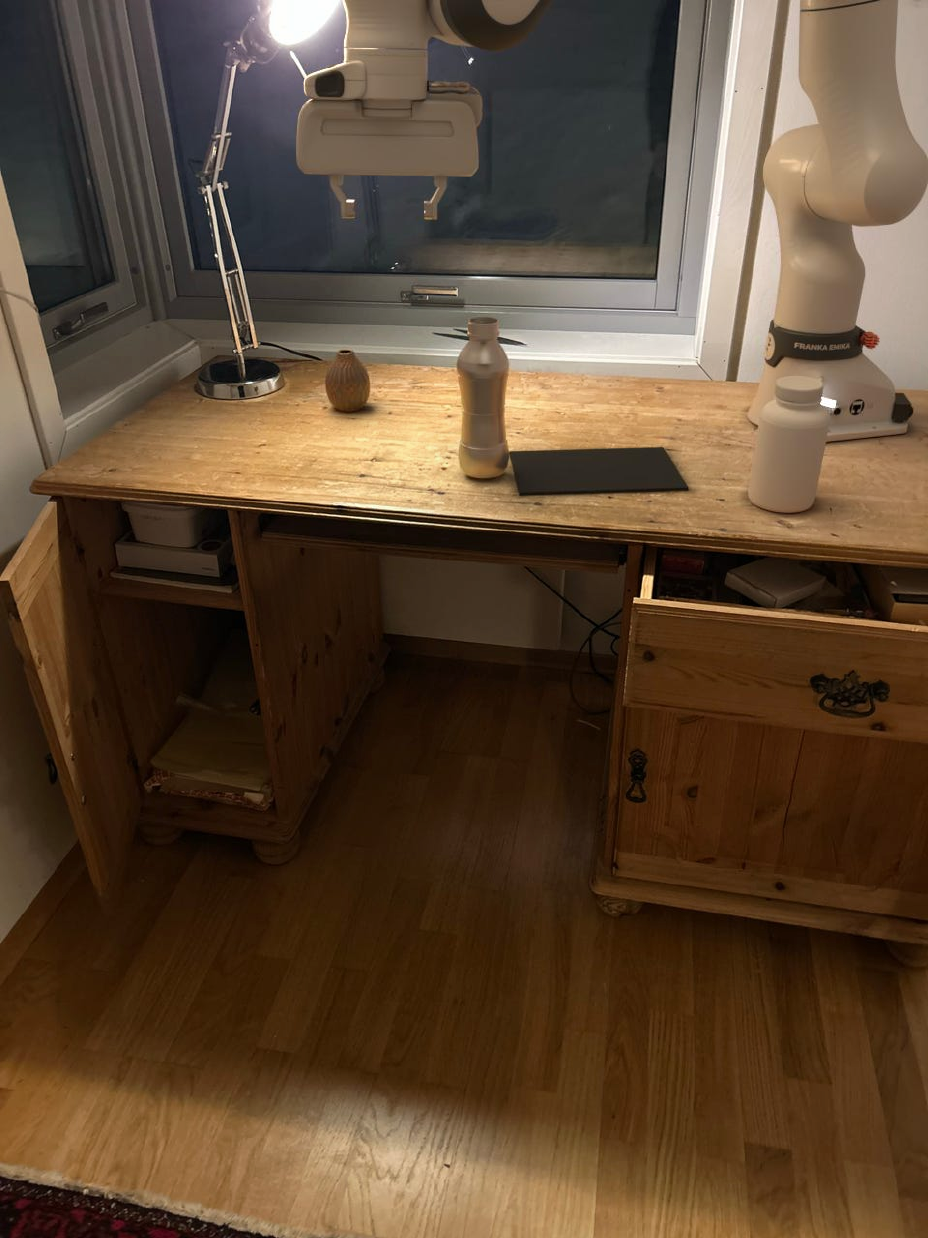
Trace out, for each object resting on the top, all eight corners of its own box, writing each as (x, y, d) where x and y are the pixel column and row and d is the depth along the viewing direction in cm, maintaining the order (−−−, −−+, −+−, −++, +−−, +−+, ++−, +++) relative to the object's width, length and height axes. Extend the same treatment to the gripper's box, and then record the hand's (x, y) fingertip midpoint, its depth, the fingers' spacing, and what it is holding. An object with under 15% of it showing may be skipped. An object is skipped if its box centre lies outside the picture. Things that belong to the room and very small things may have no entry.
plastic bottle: (504, 485, 123) (507, 328, 112) (453, 482, 124) (450, 326, 114) (512, 466, 128) (515, 314, 118) (463, 463, 129) (461, 312, 119)
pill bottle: (734, 501, 118) (752, 382, 110) (768, 482, 123) (787, 367, 115) (792, 520, 114) (815, 397, 106) (825, 500, 118) (850, 381, 110)
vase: (320, 413, 147) (315, 356, 143) (336, 398, 153) (331, 343, 148) (363, 416, 146) (359, 359, 141) (377, 401, 151) (374, 346, 147)
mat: (662, 449, 133) (663, 446, 133) (688, 490, 121) (688, 487, 121) (509, 453, 132) (509, 451, 132) (519, 495, 120) (519, 492, 120)
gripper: (481, 80, 106) (477, 214, 113) (295, 77, 105) (303, 212, 112) (485, 82, 101) (481, 223, 108) (289, 79, 100) (298, 221, 107)
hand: (389, 218), depth 110 cm, fingers open, 8 cm apart
